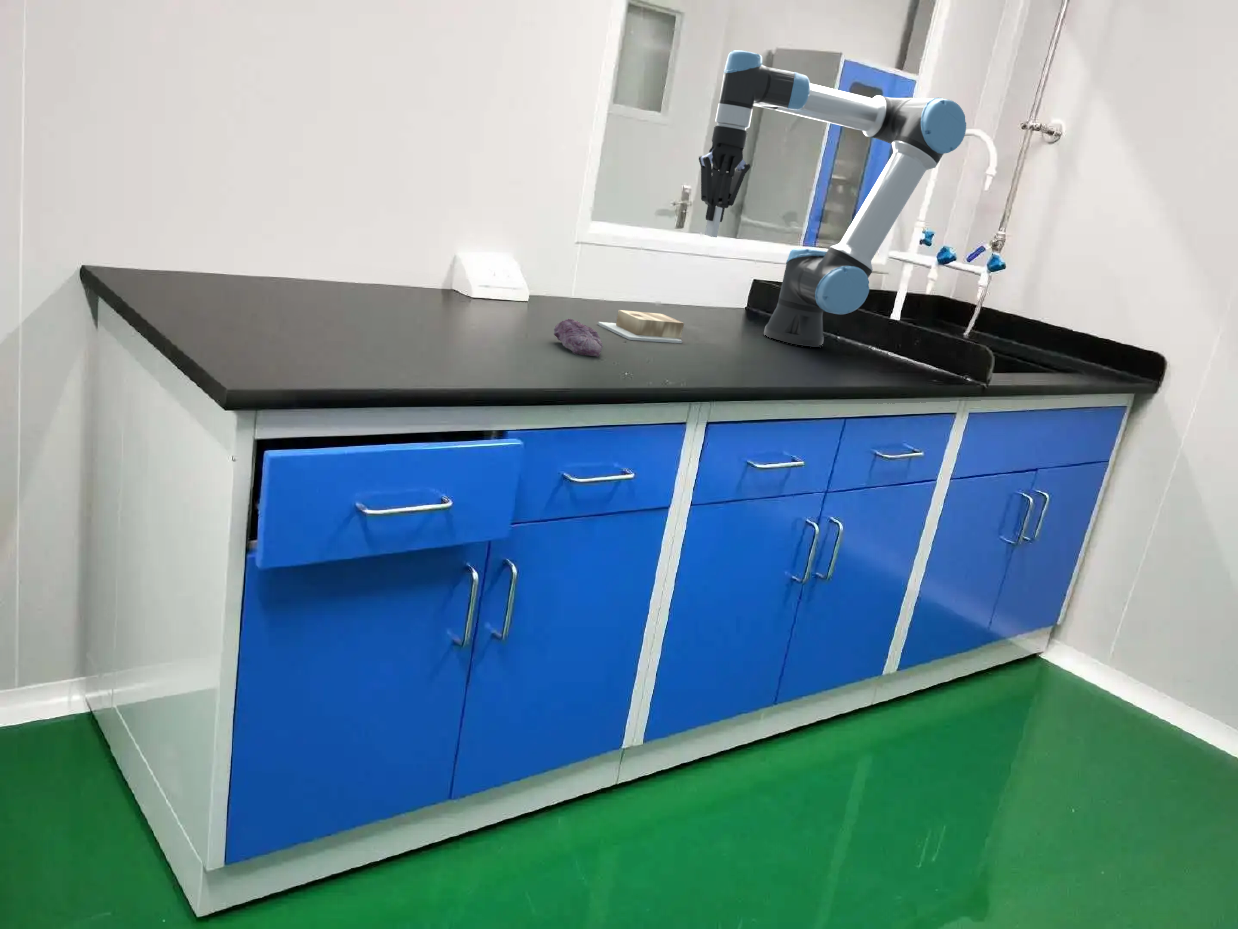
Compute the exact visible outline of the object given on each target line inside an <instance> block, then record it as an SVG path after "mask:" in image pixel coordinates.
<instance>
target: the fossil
mask: <svg viewBox="0 0 1238 929" xmlns="http://www.w3.org/2000/svg"><path fill="white" fill-rule="evenodd" d="M553 335H554V336H555V338H557V340H558V341H561V344H562V346H563V347H565V348H566V349H568V350H570V351H571V352H572V353H573V354H576V355H582V356H590V357H594V358H595V357H597V358H598V357H600V354H601V352H602V349H603V347H604V346H603V342H602V340H601V337H600V335H599V333H598V331H597V330H596V329H593V328H592V327H589V326H587V325H585V324H583V323H581V322H580V321H579V320H577V321H576V320H574V319H572V318H566V319H565V320H562V321H560V322H559V323H557V324H556V325H555V327H554V329H553Z"/></svg>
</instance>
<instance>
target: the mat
mask: <svg viewBox="0 0 1238 929" xmlns="http://www.w3.org/2000/svg"><path fill="white" fill-rule="evenodd" d="M597 326H599V327H602V328H604V329H606V330H608V331H610V332H612V333H614V334H616V335H618V336H620V337H623V338H624V339H627V340H628V341H642V342H654V343H656V342H657V343H668V344H669V343H672V344H682V343H683V340H682V339H681V338H670V337H657V336H644V335H635V334H633V333H631V332H629V331H627V330H625V329H623V328H621V327H619V326H617V325H616V322H605V321H597Z"/></svg>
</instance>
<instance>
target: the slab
mask: <svg viewBox="0 0 1238 929" xmlns="http://www.w3.org/2000/svg"><path fill="white" fill-rule="evenodd" d="M615 323H616V325H617V326H619V327H621V328H623V329H625V330H627V331H629V332H631V333H633V334H635V335H644V336H657V337H670V338H677V339H681V338H682V334H683V329H684V325H685V323H684V322H683V321H681V320H678V319H675V318H673V317H671V316H668V315H666V314H664V313H657V312H647V311H646V312H644V311H635V310H634V311H633V310H625V309H623V310H622V309H618V313H617V317H616V322H615Z"/></svg>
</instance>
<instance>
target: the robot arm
mask: <svg viewBox="0 0 1238 929" xmlns="http://www.w3.org/2000/svg"><path fill="white" fill-rule="evenodd" d="M754 107H759V108H762V109H763V108H764V109H769V110H773V111H778V112H781V113H786V114H790V115H795V116H799V117H802V118H807V119H811V120H815V121H819V122H824V123H829V124H833V125H837V126H842V127H845V128H849V129H853V130H858V131H861V132H862V133H863V135H864V136H865V137H867V138H872V139H876V140H880V141H882V142H885V143H887V144H891V146H892V150H893V153H892V154H891V157H890V158H889V160H888V161H887V163H886V164H885V167H884V168H883V170H882V172H881V173H880V175H879V176H878V178H877V180H876V182H875V183H874V185H873V186H872V188H871V190H870V192H869V194H868V195H867V197H865V200H864V202H863V203H862V205H861V207H860V209H859V210H858V212H857V213H856V215H855V217H854V219H853V220H852V222H851V224H850V225H849V226H848V228H847V230H846V232H845V233H844V235H843V236H842V238H841V240H840V242H839V243H837V244H832V245H831V246H830V245H829V248H828V249H827V251H826V250H825V251H824V250H818V249H811V248H810V249H809V248H799V247H796V248H795V247H794V248H793V249H791V250H790V251H789V253H788V256H787V260H786V262H785V269H784V273H783V278H782V282H781V286H780V291H779V296H778V302H777V304H776V308H775V309H774V311H773V313H772V315H771V316H770V318H769V320H768V322H767V323H766V325H765V327H764V331H763V335H764V336H765V335H766V336H767V337H766V336H765V337H766V338H768V337H769V338H768V339H771V338H774V339H778V340H781V341H785V342H789V343H793V344H803V345H812V346H819V345H822V344H824V340H825V338H824V337H825V335H824V321H823V317H824V316H823V315H824V312H826V313H830V314H835V315H846V314H849V313H852V312H855V311H856V310H858V309H859V308H860V307H862V305H863V304H864V303H865V301H866V299H867V298H868V295H869V293H870V285H869V284H870V280H869V277H870V276H871V274H872V272H873V271H874V270H873V264H872V260H873V259H874V257H875V255H876V253H877V252H878V251H879V248H880V247H881V246H882V243H883V242H884V241H885V239H886V237H887V235H888V234H889V232H890V231H891V229H892V227H893V226H894V224H895V222H896V221H897V219H898V218H899V215H900V214H901V212H902V211H903V209H904V208H905V205H906V204H907V203H908V201H909V199H910V198H911V196H912V194H913V193H914V191H915V190H916V188H917V186H918V184H919V183H920V181H921V179H922V178H923V177H924V175H925V173H926V172H927V171H929V170H931V169H932V170H933V169H935V168H937V166H938V165H939V163H940V161H941V160H942V158H943V156H944V155H945V154H949V153H951V152H953V151H955V150H956V149H958V147H960V145H961V144H962V142H963V141H964V138H965V135H966V131H967V122H966V115H965V112H964V110H963V108H962V107H961V106H960V105H959V104H958V102H956V101H954V100H952V99H946V98H942V97H934V98H931V97H930V98H929V97H928V98H927V97H888V96H883V95H875V96H874V97H872V98H871V97H868V96H864V95H860V94H856V93H852V92H847V91H843V90H839V89H835V88H830V87H827V86H822V85H820V84H819V85H818V84H815V83H811V81H810V79H809V77H808V75H805V74H802V73H799V72H797V71H794V72H793V71H789V70H784V69H778V68H774V67H768V66H767V65H766V66H765V65H763V56H762V55H761V54H759V53H755V52H752V51H749V50H748V51H747V50H738V49H736V50H732V51H730V52H729V53H728V55H727V59H726V62H725V66H724V70H723V76H722V82H721V89H720V95H719V101H718V105H717V110H716V115H715V119H714V120H715V123H717V124H716V125H714V127H713V131H712V136H711V143H712V145H711V147H710V149H709V151H708V153H707V154H704V155H699V156H698V161H699V165H700V199H701V201H702V202H704V203H705V205H707V208H706V211H705V212H706V214H705V220H707V221H706V226H705V232H704V235H705V236H708V237H711V238H717V237H718V234H719V230H720V229H719V228H720V224H721V223H722V222H723V220H724V215H725V209H728V208H729V207H730V206H731V207H732V206H733V205H734V203H735V201H736V198H737V196H738V194H739V191H740V188H741V185H742V184H743V181H744V179H745V175H746V174H747V173H748V171H749V170H750V169H751V164H750V163H747V162H746V161H745V160H744V153H743V152H744V149H745V147H746V144H747V140H748V136H749V135H748V134H749V132H748V131H747V129H749V128H750V126H751V120H752V114H753V109H754ZM822 346H823V345H822Z"/></svg>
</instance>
